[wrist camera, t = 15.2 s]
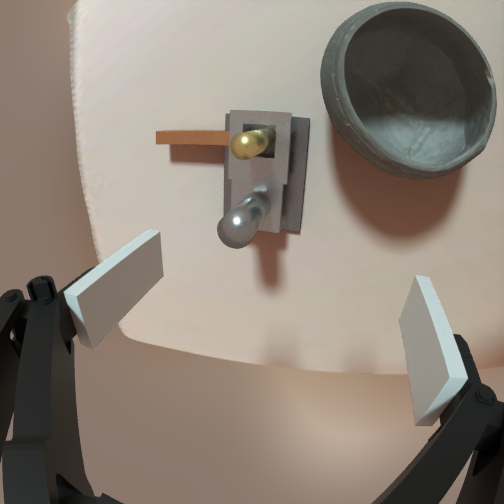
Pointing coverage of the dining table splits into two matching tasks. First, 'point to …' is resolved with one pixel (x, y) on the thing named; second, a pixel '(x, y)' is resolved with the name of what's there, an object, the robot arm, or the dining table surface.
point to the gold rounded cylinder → (251, 143)
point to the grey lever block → (256, 174)
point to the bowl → (409, 89)
